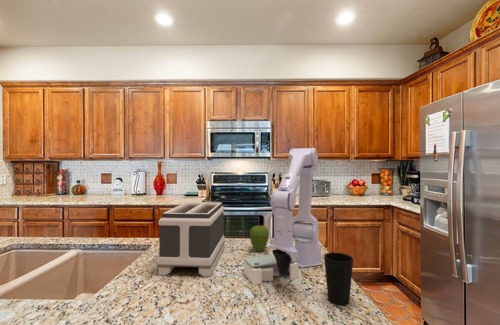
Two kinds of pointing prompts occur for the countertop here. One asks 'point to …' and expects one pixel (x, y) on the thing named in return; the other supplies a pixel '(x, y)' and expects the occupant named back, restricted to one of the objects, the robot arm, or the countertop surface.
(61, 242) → the countertop surface
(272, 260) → the cover
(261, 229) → the olive green rounded lump
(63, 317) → the countertop surface
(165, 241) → the toaster
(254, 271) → the c-shaped bracket
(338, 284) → the cup
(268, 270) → the usb wall charger
